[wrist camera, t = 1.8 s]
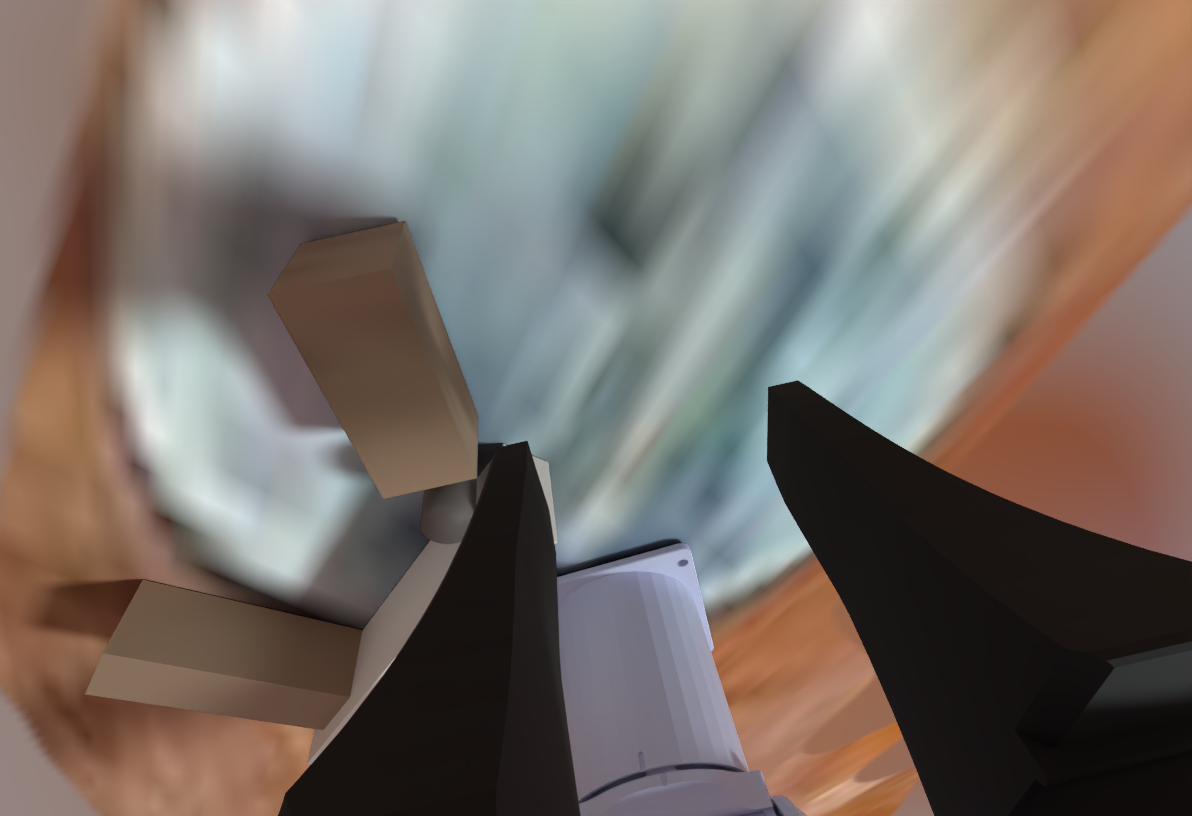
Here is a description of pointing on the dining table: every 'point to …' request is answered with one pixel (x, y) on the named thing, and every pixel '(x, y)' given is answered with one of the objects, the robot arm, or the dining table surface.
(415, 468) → the hinged leg
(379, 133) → the dining table surface
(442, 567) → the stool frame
